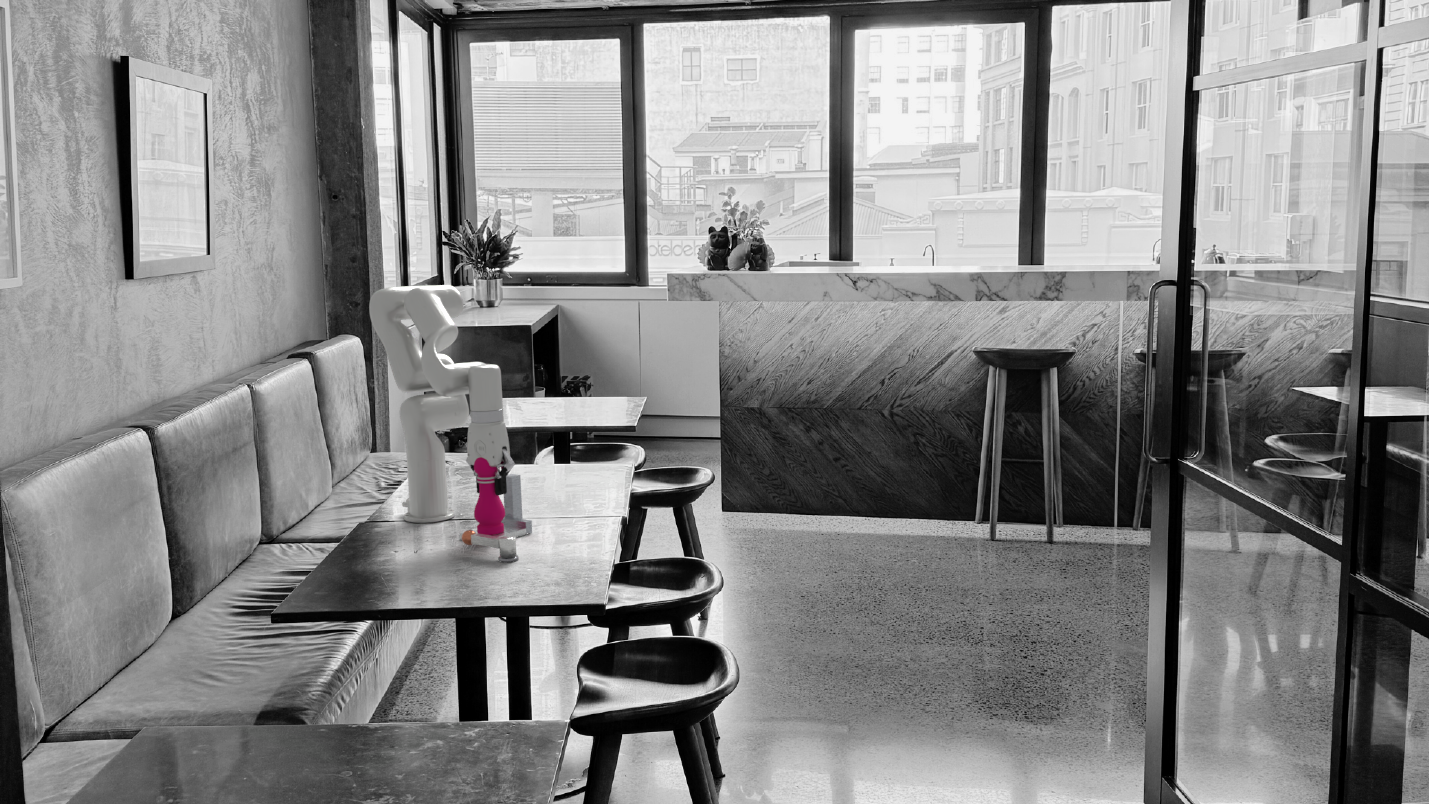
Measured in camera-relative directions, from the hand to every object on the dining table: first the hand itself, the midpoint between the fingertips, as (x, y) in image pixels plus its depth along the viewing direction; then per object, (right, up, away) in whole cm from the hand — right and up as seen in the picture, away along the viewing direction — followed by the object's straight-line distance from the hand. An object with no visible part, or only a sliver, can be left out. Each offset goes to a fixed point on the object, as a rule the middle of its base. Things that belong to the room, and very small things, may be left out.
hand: (491, 492), depth 276 cm
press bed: (+5, -11, -4) cm, 13 cm away
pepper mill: (0, -9, 0) cm, 10 cm away
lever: (+2, -12, -16) cm, 20 cm away
